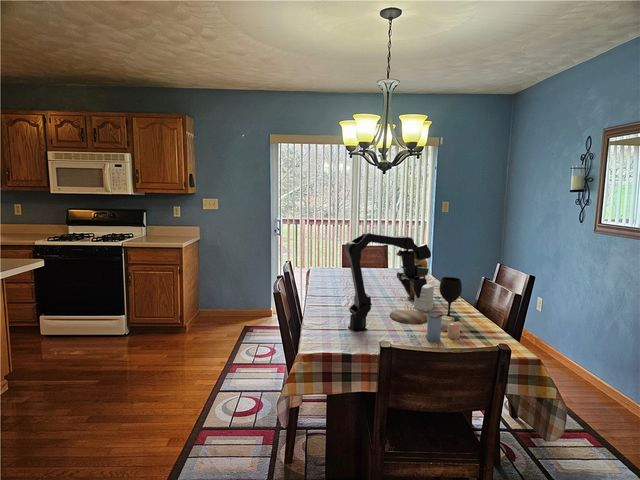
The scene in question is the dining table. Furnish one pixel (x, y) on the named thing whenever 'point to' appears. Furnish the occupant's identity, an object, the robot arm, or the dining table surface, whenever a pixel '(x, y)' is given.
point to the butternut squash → (424, 264)
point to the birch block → (446, 322)
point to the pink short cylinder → (453, 330)
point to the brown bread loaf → (408, 316)
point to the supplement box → (425, 298)
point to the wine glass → (450, 292)
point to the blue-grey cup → (434, 328)
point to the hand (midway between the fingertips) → (413, 295)
